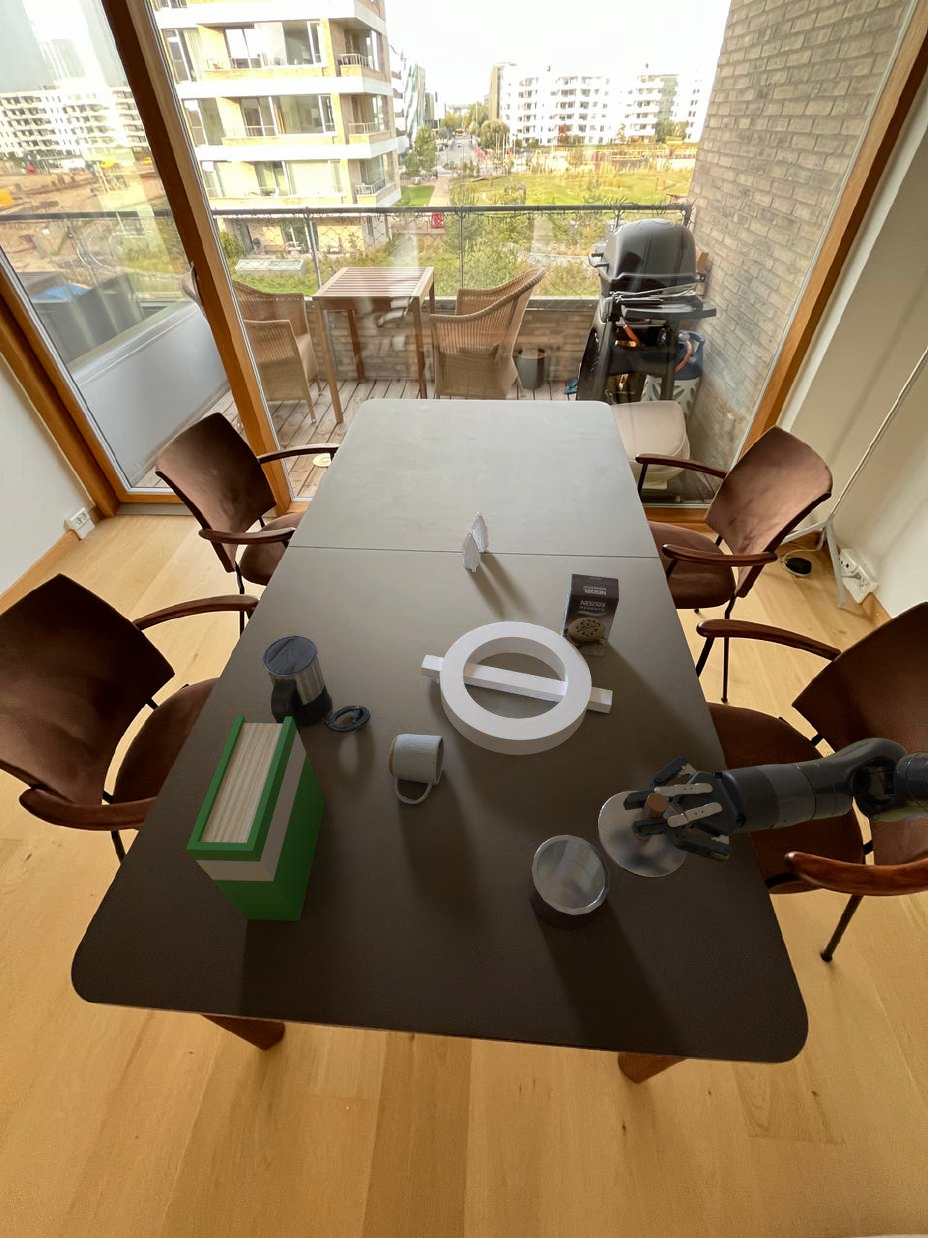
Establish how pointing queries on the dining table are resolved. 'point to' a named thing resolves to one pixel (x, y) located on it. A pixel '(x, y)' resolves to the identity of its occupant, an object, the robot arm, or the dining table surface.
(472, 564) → the shaker set
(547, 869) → the bowl
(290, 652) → the milk frother
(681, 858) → the bowl lid
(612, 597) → the coffee box
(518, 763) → the dining table surface
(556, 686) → the ring with crossbar
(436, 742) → the ceramic mug
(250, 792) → the hardback book
